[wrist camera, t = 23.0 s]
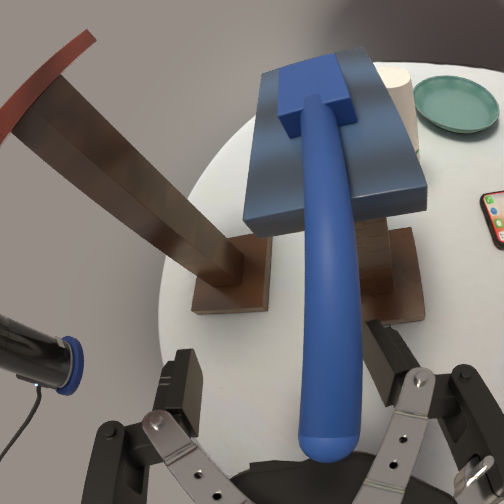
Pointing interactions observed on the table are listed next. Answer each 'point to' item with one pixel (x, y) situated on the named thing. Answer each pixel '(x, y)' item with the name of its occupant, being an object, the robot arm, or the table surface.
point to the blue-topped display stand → (360, 185)
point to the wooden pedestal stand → (134, 187)
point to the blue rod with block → (326, 259)
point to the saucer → (456, 104)
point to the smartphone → (494, 215)
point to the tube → (402, 99)
